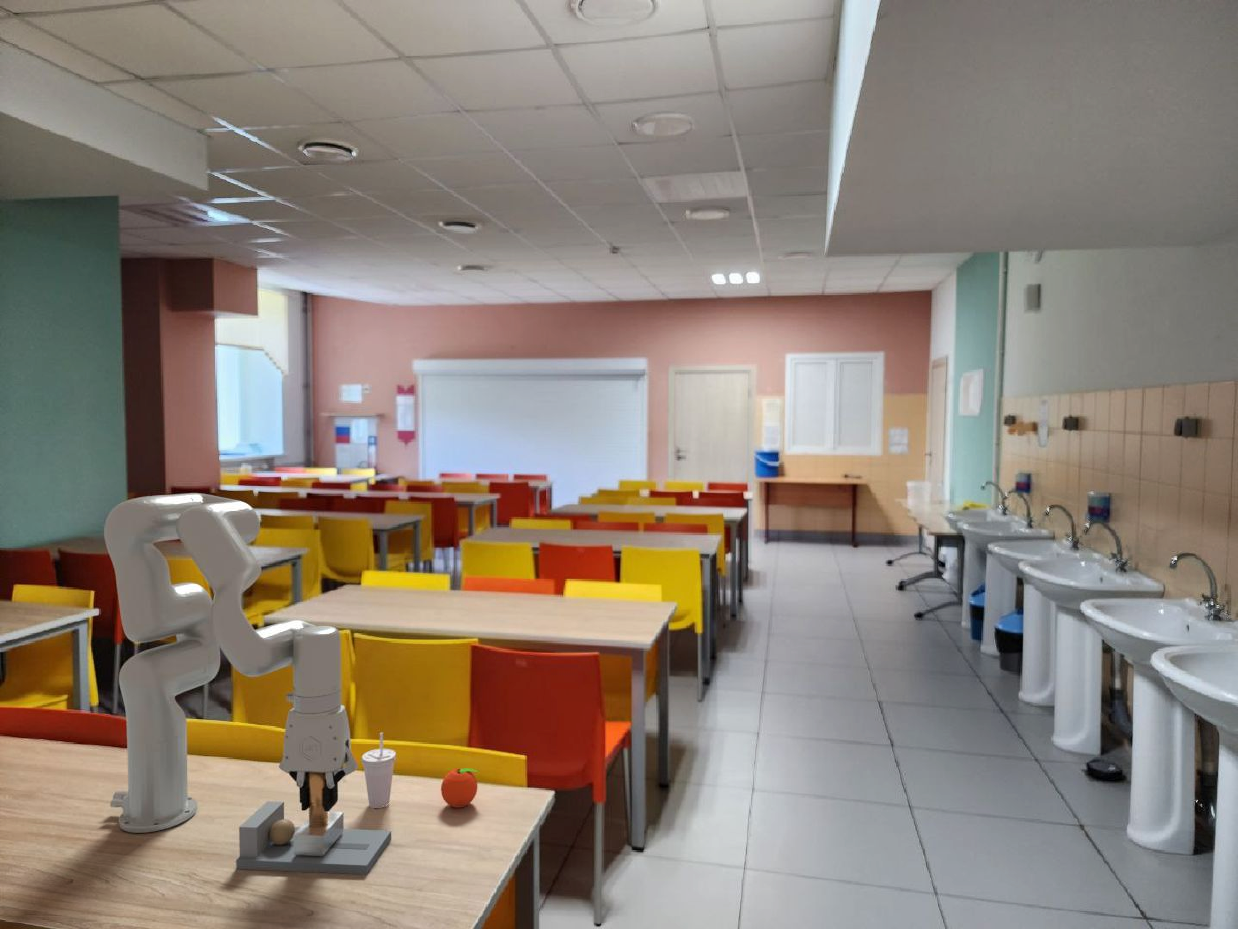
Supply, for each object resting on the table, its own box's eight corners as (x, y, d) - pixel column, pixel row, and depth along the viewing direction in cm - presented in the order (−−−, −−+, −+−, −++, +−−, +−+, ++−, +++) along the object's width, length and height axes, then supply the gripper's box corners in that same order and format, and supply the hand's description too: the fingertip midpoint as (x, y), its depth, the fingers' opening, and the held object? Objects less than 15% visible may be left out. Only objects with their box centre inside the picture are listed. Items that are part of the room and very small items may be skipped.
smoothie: (386, 814, 146) (385, 740, 145) (355, 810, 147) (354, 738, 147) (402, 798, 152) (401, 728, 152) (372, 795, 154) (371, 725, 153)
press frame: (236, 868, 127) (235, 830, 127) (270, 834, 138) (270, 798, 138) (366, 874, 126) (366, 835, 126) (391, 839, 137) (390, 803, 137)
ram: (293, 854, 128) (292, 765, 128) (315, 830, 136) (314, 746, 136) (323, 856, 128) (322, 766, 127) (343, 831, 136) (342, 747, 135)
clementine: (477, 793, 155) (477, 758, 154) (487, 808, 148) (487, 772, 148) (437, 801, 151) (437, 765, 151) (445, 817, 145) (445, 780, 145)
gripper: (259, 707, 128) (260, 816, 129) (356, 710, 127) (357, 820, 128) (281, 692, 135) (283, 795, 136) (373, 694, 134) (374, 798, 135)
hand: (318, 806), depth 132 cm, fingers closed on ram, 3 cm apart
